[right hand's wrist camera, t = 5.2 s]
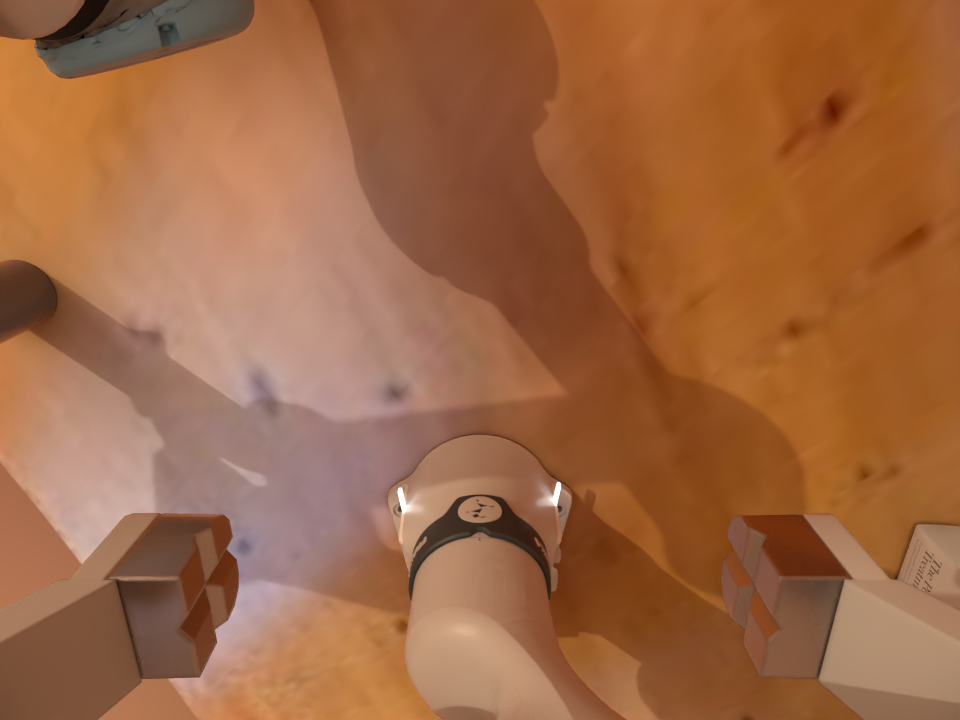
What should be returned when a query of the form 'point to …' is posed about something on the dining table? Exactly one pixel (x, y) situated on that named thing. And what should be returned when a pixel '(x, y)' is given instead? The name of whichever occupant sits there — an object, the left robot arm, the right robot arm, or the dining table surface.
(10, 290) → the bottle
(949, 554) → the skincare box
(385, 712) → the dining table surface
